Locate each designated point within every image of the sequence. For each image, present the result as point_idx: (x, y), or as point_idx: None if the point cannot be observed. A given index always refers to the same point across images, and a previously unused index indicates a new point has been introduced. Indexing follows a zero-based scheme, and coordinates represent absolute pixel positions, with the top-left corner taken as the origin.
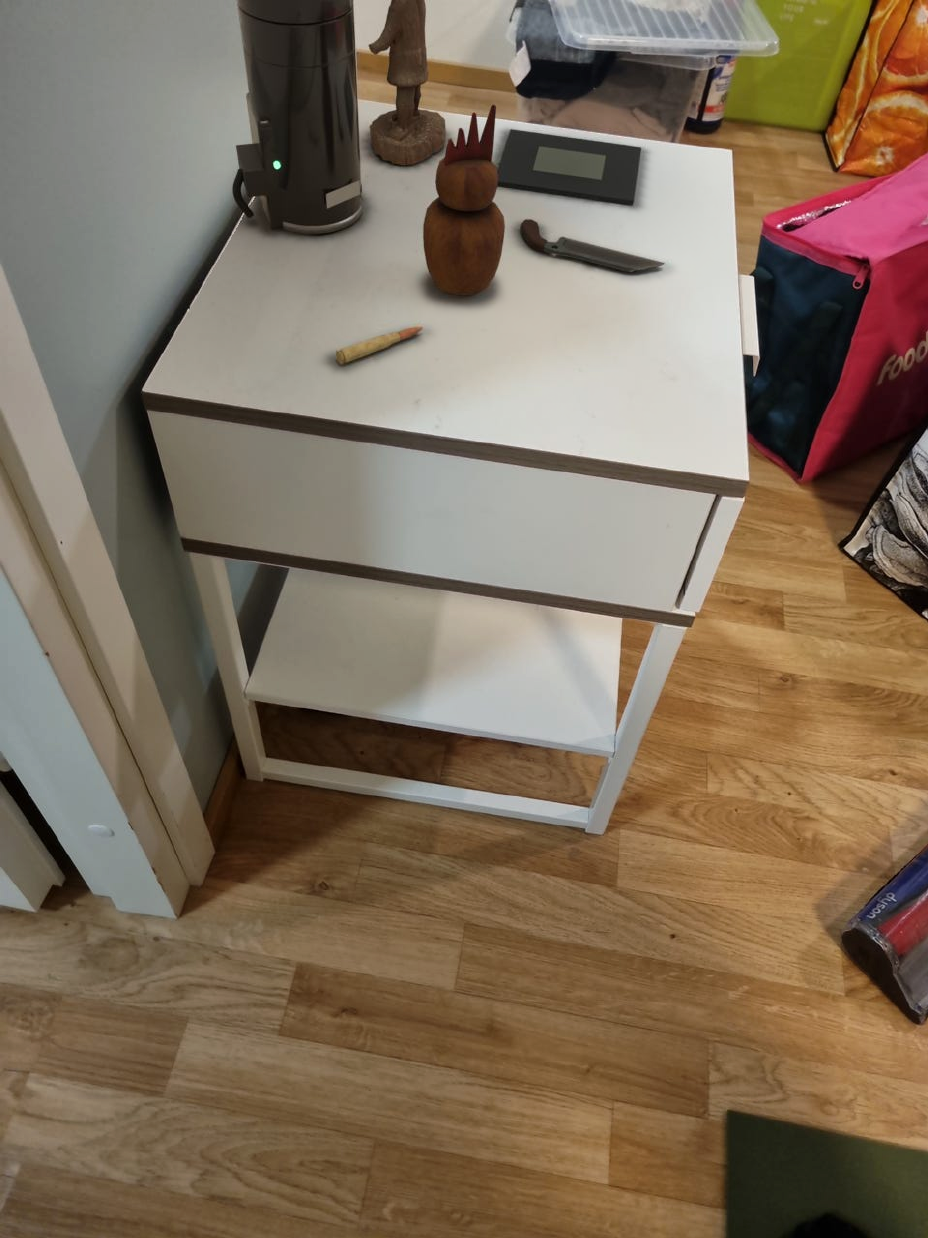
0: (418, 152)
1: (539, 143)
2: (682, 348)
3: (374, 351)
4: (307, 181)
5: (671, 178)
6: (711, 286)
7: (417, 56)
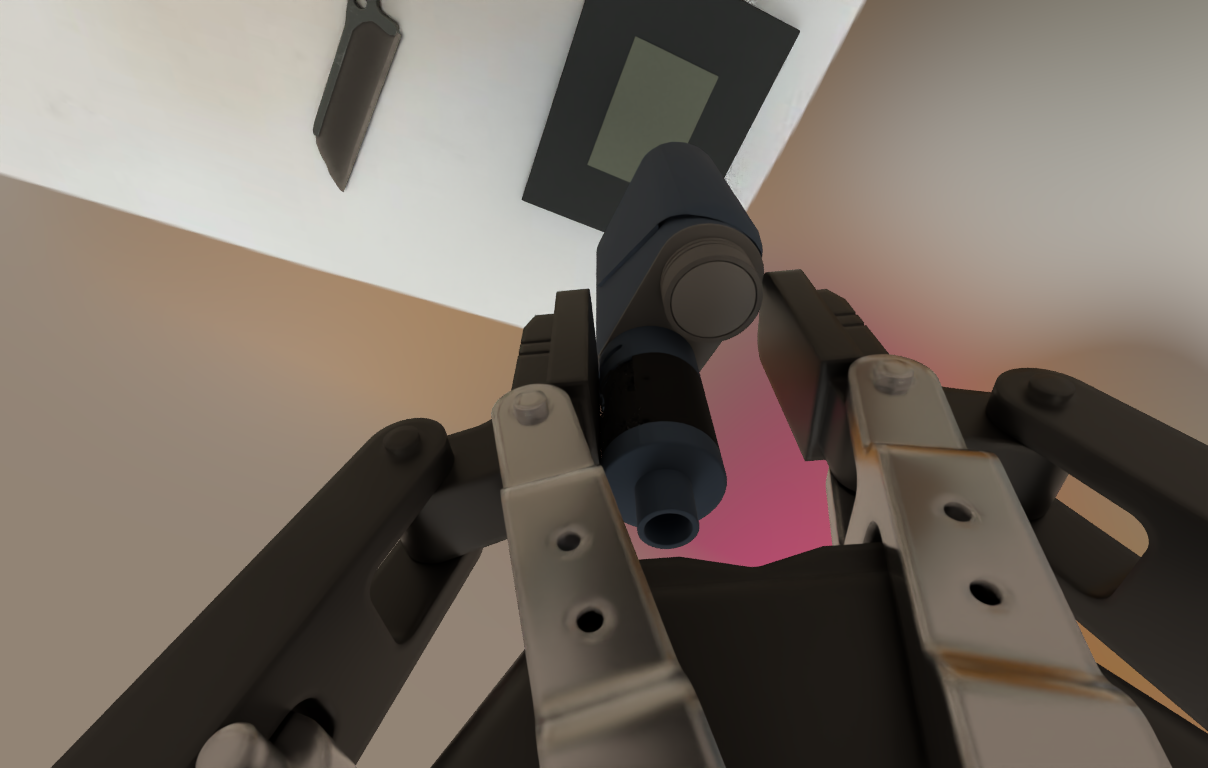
0: None
1: (729, 80)
2: (139, 150)
3: None
4: None
5: None
6: (310, 243)
7: None
